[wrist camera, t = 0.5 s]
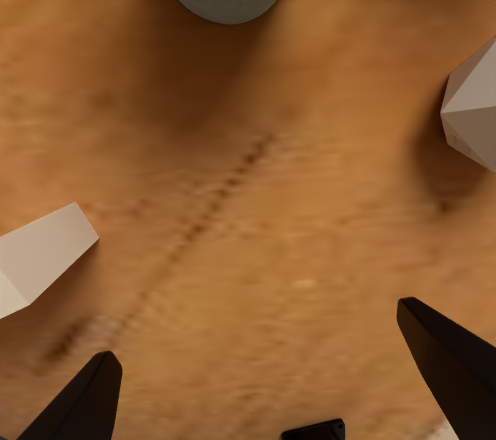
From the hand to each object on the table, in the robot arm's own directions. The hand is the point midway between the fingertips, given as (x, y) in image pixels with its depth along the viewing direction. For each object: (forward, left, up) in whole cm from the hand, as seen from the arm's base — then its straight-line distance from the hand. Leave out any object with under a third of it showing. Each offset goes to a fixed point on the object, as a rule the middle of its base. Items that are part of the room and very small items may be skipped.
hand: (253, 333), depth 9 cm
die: (+6, -20, -14) cm, 25 cm away
